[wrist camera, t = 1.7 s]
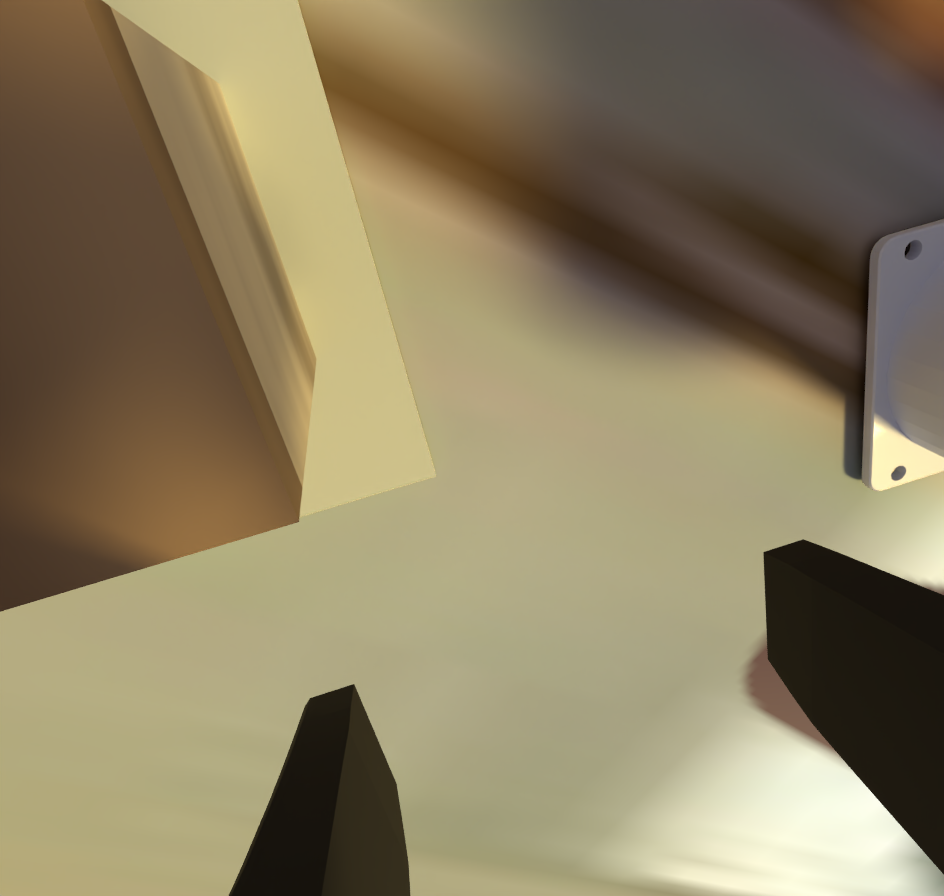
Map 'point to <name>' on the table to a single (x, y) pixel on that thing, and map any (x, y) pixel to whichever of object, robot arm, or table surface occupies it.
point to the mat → (308, 237)
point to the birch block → (133, 311)
